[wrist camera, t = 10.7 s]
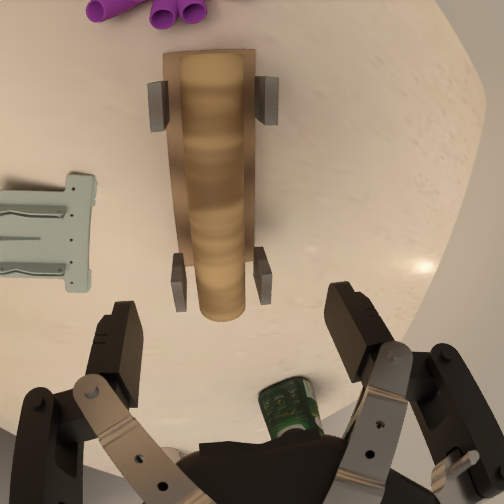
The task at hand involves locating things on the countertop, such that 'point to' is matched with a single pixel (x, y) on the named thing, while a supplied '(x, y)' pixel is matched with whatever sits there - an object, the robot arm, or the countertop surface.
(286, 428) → the coffee jar
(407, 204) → the countertop surface
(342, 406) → the countertop surface
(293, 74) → the countertop surface
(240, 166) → the rail
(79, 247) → the metal bracket
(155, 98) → the bracket stand
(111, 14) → the purple tube coral
